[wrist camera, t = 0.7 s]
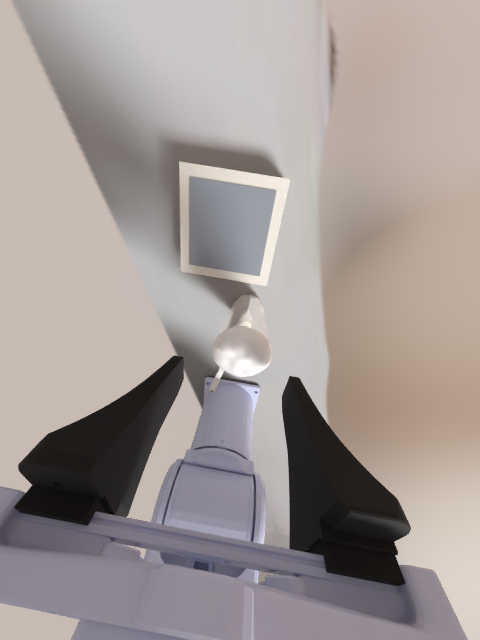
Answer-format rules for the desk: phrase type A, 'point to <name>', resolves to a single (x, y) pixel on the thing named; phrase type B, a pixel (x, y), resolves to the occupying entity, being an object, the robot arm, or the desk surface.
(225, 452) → the robot arm
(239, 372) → the milkshake
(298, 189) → the desk surface
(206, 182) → the plinth
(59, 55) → the desk surface
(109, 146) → the desk surface
